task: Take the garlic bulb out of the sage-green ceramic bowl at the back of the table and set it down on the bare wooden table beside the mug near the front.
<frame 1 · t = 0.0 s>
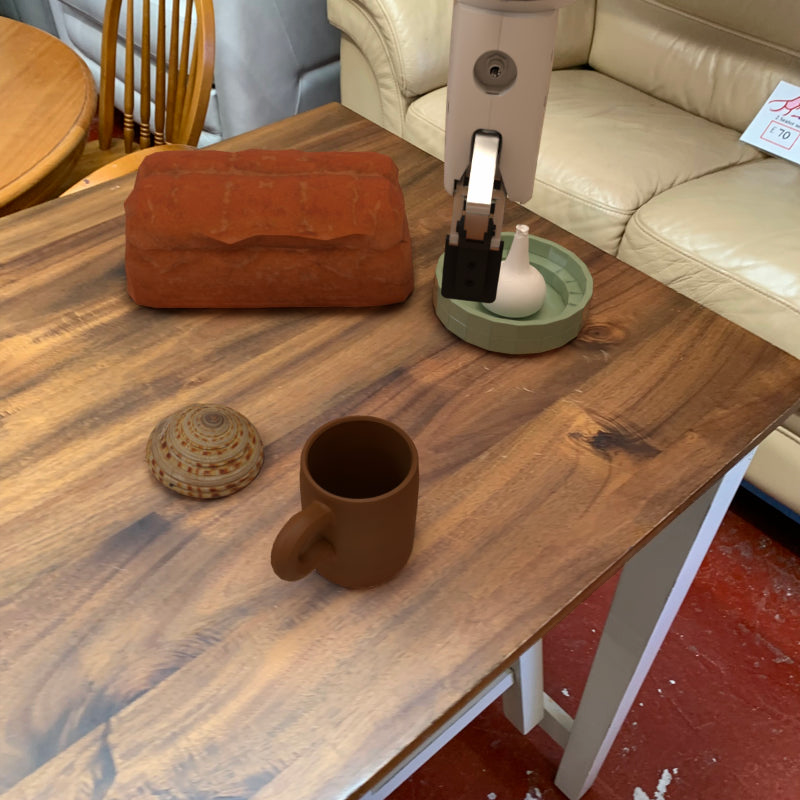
hand: (474, 251, 52), 18 cm above the table, tool pointing down, fingers open, 9 cm apart
bowl: (508, 308, 78), on the table
mug: (340, 569, 57), on the table
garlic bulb: (509, 305, 78), resting on bowl
bread: (274, 269, 81), on the table
seashell: (205, 459, 63), on the table
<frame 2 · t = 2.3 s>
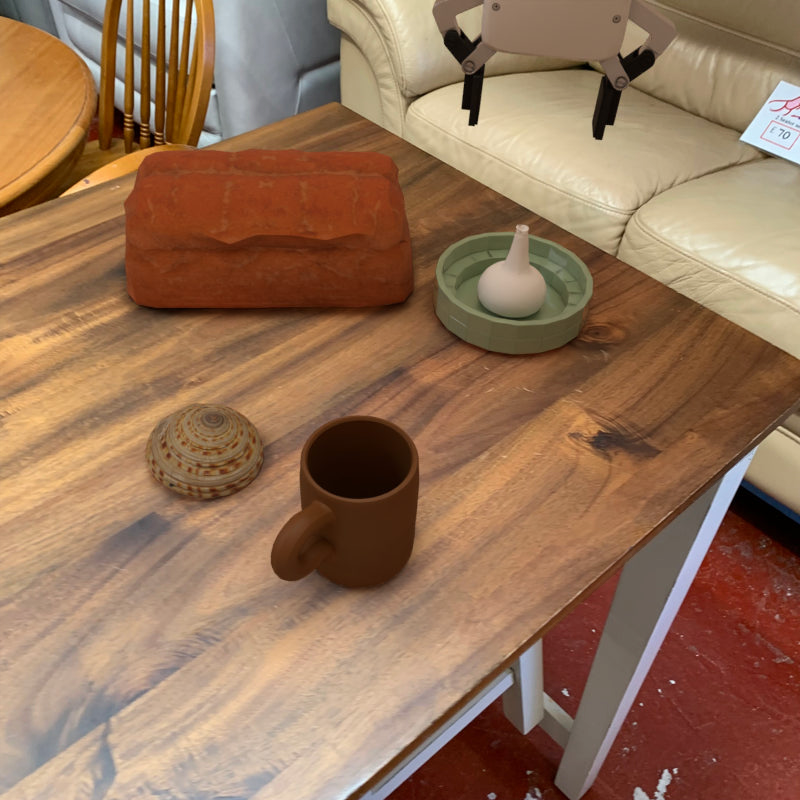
hand: (535, 125, 65), 18 cm above the table, tool pointing down, fingers open, 9 cm apart
nothing on the table moved.
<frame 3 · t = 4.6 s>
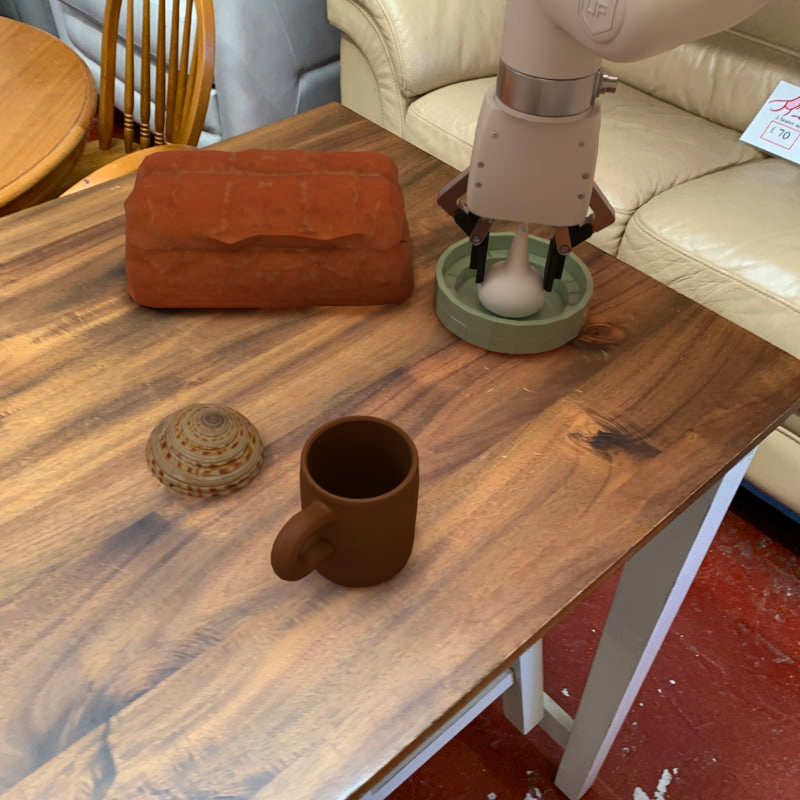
hand: (513, 277, 75), 4 cm above the table, tool pointing down, fingers closed on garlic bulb, 5 cm apart
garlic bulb: (509, 305, 78), resting on bowl, touching gripper
everything else where it was.
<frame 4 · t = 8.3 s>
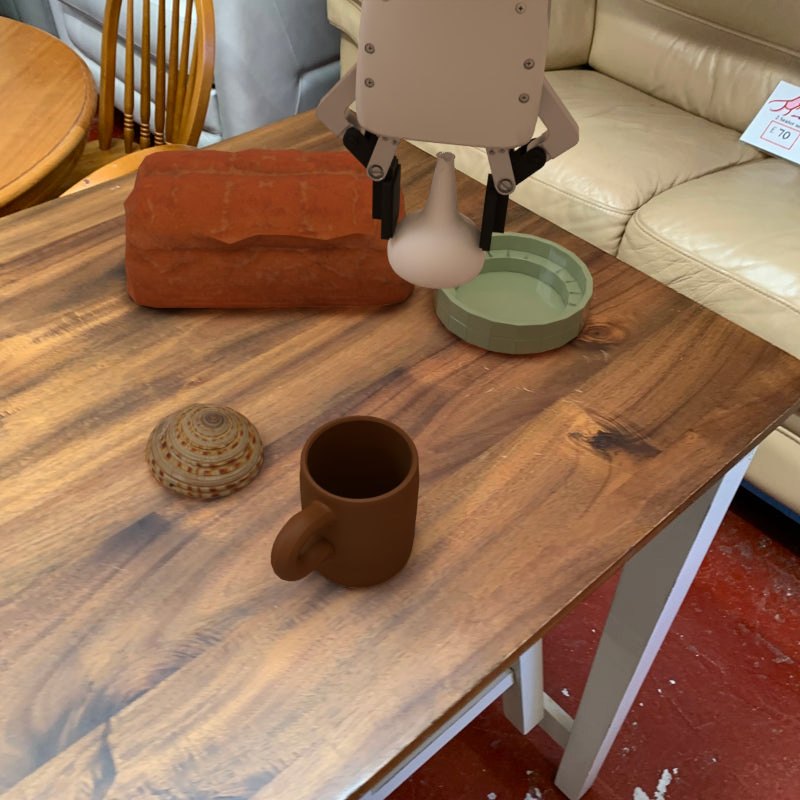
hand: (437, 231, 52), 19 cm above the table, tool pointing down, fingers closed on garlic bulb, 5 cm apart
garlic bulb: (434, 273, 55), point 16 cm above the table, touching gripper
everything else where it was.
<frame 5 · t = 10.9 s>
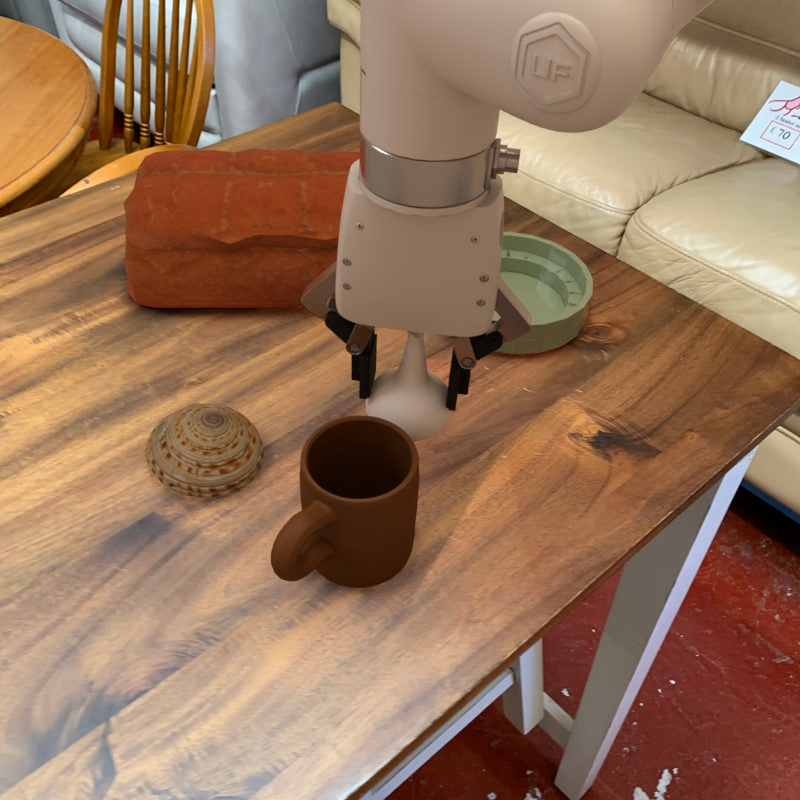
hand: (410, 389, 59), 7 cm above the table, tool pointing down, fingers closed on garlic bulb, 5 cm apart
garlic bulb: (407, 421, 61), point 4 cm above the table, touching gripper
everything else where it was.
when the fingers open (3 cm above the table, at t = 12.4 s): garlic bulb stays where it is, on the table.
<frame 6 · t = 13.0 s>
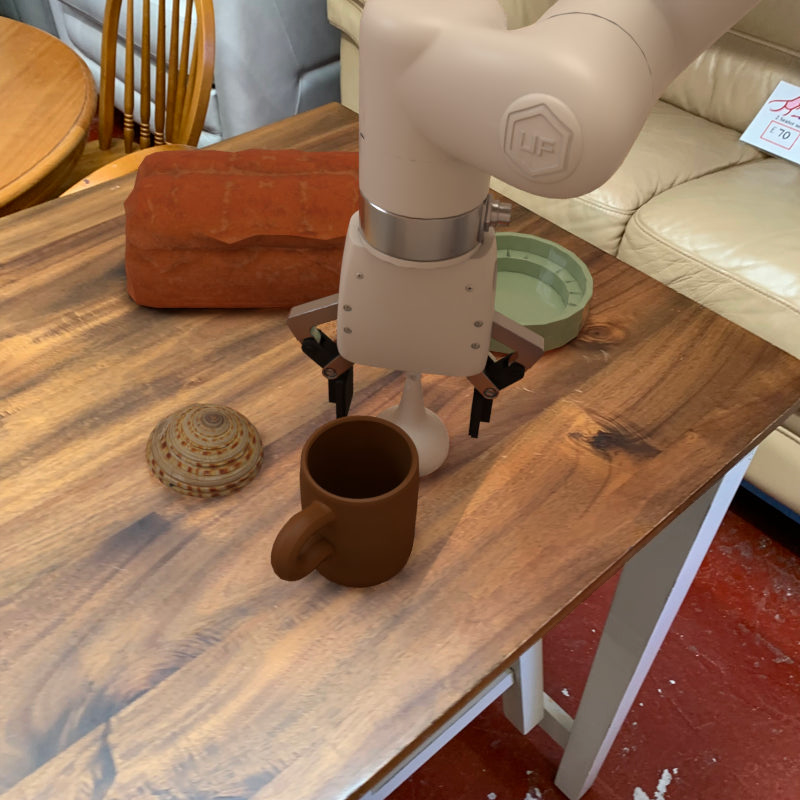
hand: (409, 416, 61), 4 cm above the table, tool pointing down, fingers open, 9 cm apart
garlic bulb: (406, 457, 64), on the table
everything else where it was.
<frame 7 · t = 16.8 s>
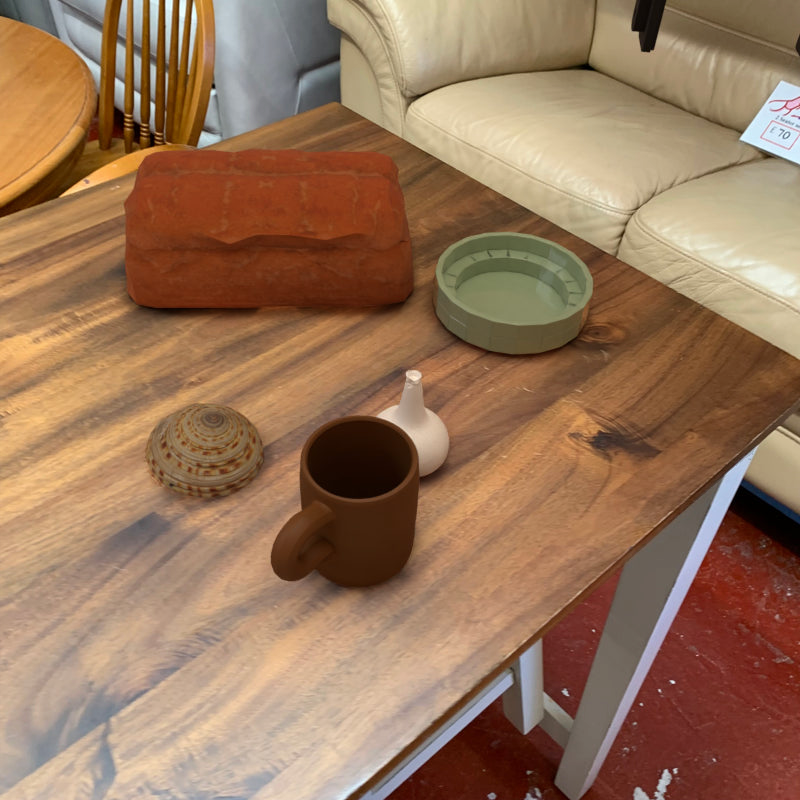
hand: (724, 51, 51), 28 cm above the table, tool pointing down, fingers open, 9 cm apart
nothing on the table moved.
at the end: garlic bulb inside the target area on the table beside the mug (0.1 cm from its centre), on the table; the gripper is holding nothing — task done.
